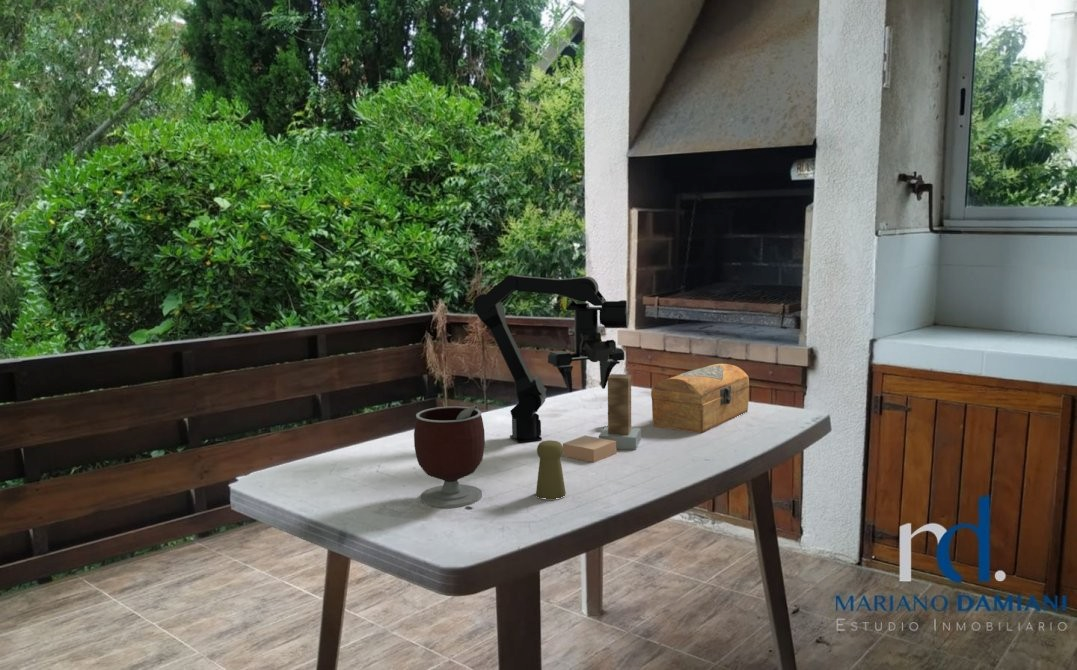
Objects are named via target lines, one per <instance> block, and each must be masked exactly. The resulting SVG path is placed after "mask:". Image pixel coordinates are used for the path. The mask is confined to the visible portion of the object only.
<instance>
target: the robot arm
mask: <svg viewBox="0 0 1077 670" xmlns="http://www.w3.org/2000/svg"><path fill="white" fill-rule="evenodd" d="M515 291H518V292H527V293H540V294H541V293H542V294H550V295H559V296H562V297H566V298H569V299H570V300H572V301H571V302H570V303H569V304H568V305H567V307H565V310H566V311H574V315H573V316H574V331H572V332H571V333H572V337H574V347H572V353H571V352H567V351H565V350H559V351H558V350H557V351H556V350H555V351H550V352H549V354H548V355H547V363H548V364H551V365H552V367H554V368H557V370H558V372H559V373H560V376H561V377H562V379H563V381H564V384H565V387H566V389H567V391H568V392H569V393H572V392H573V380H572V378H573V376H572V371H573V368H574V366H573V365H571V364H572V363H573V362H577V361H586V360H589V361H590V362H591V363H598V362H599V373H600V374H599V375H600V378H599V379H600V387H601V389H603V390H605V389H606V387H607V385H608V377H609V376H610V375H611V374H612V370H613V369H614V367H615V366H617V365H619V364H620V363H621V362H620V361H625V357H626V356H625V351H624V349H623V348H620V347H617V343H616V341H615V340H614V339H607V340H604V341H603V340H602V336H601V332H600V331H599V330H598V328H599V326H598V323H599V324H600V325H602V326H603V327H604V329H629V312H628V301H627V300H626V299H623V300H606V298H605V296H603V294H602V293H601V291H600V289H599V285H598V282H597V281H596V279H595V278H593V277H590V276H578V277H571V278H570V277H569V278H551V277H540V276H530V275H529V276H526V275H518V274H515V273H514V274H513V273H512V274H508V275H506V276H505V277H504V278H503V279H502V280H501V281H499V283H497V284H496V285H495V286H494V287H492V288H491V289H490V290H488V292H485V293H482V294H480V295H477V296H476V298H475V299H474V300H473V304H472V307H473V311H474V312H475V314H476V316H477V317H478V318H479V320H480V321H481V323H483V325H485V326H486V327H487V329H489V331H490V332H491V335H492V336H493V337H492V338H493V339H494V341H495V343H496V344H497V347H498V350H500V351H499V352H500V353H501V355H502V357H503V360H504V362H505V363H506V365H507V366H506V367H508V368H507V369H508V371H510V374H511V376H512V379H513V380H514V385H515V386H514V387H515V394H516V397H517V400H518V402H517V404H516V405H515V406H513V407H512V408H511V410H510V411H509V412H510V415H511V433H512V434H510V435H509V438H510V439H512V440H513V441H515V442H516V443H525V442H526V443H527V442H528V443H529V442H536V441H543V437H541V436H542V422H541V420H540V415H539V414H538V413H537V412H538V411H539V410H540V408H541V407H542V406H543V404H544V403H545V401H546V399H547V394H546V391H547V388H546V387H545V385H544V384H543V381H542V378H541V376H540V375H538V376H537V377H534V375H533V374H532V373H531V371H529V368H528V367H527V364H526V362H525V360H524V358H523V356H522V354H521V351H520V350H519V348H518V345H517V344H516V341H515V339H514V336H513V335H512V333H511V331H510V329H509V326H508V324H507V322H506V314H505V309H504V305H503V303H504V302H505V301H506V300H507V299H508V298H509V297H510V296H511V295H512V294H513V293H515ZM577 301H579V302H577ZM590 305H593V306H590ZM598 311H599V312H598ZM598 313H599V315H598ZM598 316H599V317H598ZM598 318H599V319H598ZM598 321H599V322H598Z"/></svg>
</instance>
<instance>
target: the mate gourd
mask: <svg viewBox="0 0 1077 670" xmlns="http://www.w3.org/2000/svg"><path fill="white" fill-rule="evenodd" d="M415 417H416V419H415V423H414V431H413V443H414V445H413V446H414V451H415V456H416V460H417V463H418V465H419V467H420V468H421V469H422V470H423V472H425V474H426V476H429V477H432V478H435V479H438V480H441V481H444V482H443V484H442V485H436V486H433V487H430V488H427V489H425V490H423V492H421V494H420V501H421V502H422V504H424V503H425V504H424V505H426V504H427V505H426V506H429V505H430V506H429V507H433V506H434V508H440V507H441V508H443V509H444V508H445V509H446V508H447V509H452V508H454V509H455V508H461V506H462V507H466V505H467V506H470V505H473V504H475V502H476V503H477V502H479V501H481V499H482V498H483V491H482V489H481V488H480V487H479V488H478V487H477V486H473V485H470V484H460V483H459V480H460V479H462V478H465V477H467V476H470V475H473V473H475V472H476V470H477V468H478V467H479V466H480V465H481V463H482V461H483V458H484V454H485V453H484V452H485V444H486V443H485V441H486V440H485V439H486V438H485V427H484V420H483V417H482V411H481V409H480V410H479V408H478V405H476V404H475V405H472V406H456V405H455V406H452V405H451V406H439V407H432V408H427V409H423V410H421V411H419V412H417V413H416V414H415ZM469 504H470V505H469Z"/></svg>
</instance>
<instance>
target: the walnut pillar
mask: <svg viewBox="0 0 1077 670" xmlns="http://www.w3.org/2000/svg"><path fill="white" fill-rule="evenodd" d="M607 427H608V434H616V435H629V433H630V432H631V428H632V374H624V373H623V374H619V373H617V374H616V373H610V375H609V377H608V381H607Z"/></svg>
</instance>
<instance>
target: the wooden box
mask: <svg viewBox="0 0 1077 670" xmlns="http://www.w3.org/2000/svg"><path fill="white" fill-rule="evenodd" d="M650 390H651V391H650V392H651V393H650V394H651V395H650V398H651V411H652V414H651V415H652V425H653V427H659V428H664V427H665V429H670V428H671V429H672V430H677V429H678V431H683V430H684V431H686V432H690V431H691V432H692V433H698V434H703V433H706V432H708V431H711V430H712V429H714V428H717V427H718V426H721V425H723V424H725V423H727V422H729V421H731V420H733V419H735V417H736V418H737V416H738V417H740V416H742V415H744V414H746V413H748V409H749V400H750V378H749V375H748V374H747V373H746V372H745V371H744V370H743V369H741V367H738V366H737V365H733V364H729V363H716V364H711V365H710V364H709V365H707V366H705V367H699V368H696V369H692V370H689V371H686V372H683V373H680V374H678V375H675V376H671V377H669V378H666V379H663V380H661V381H660V380H659V382H657V383H656V384H655V385H654V386H653V388H651V389H650ZM745 412H746V413H745ZM743 413H744V414H743ZM741 414H742V415H741ZM739 415H740V416H739ZM691 432H690V433H691Z"/></svg>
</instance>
